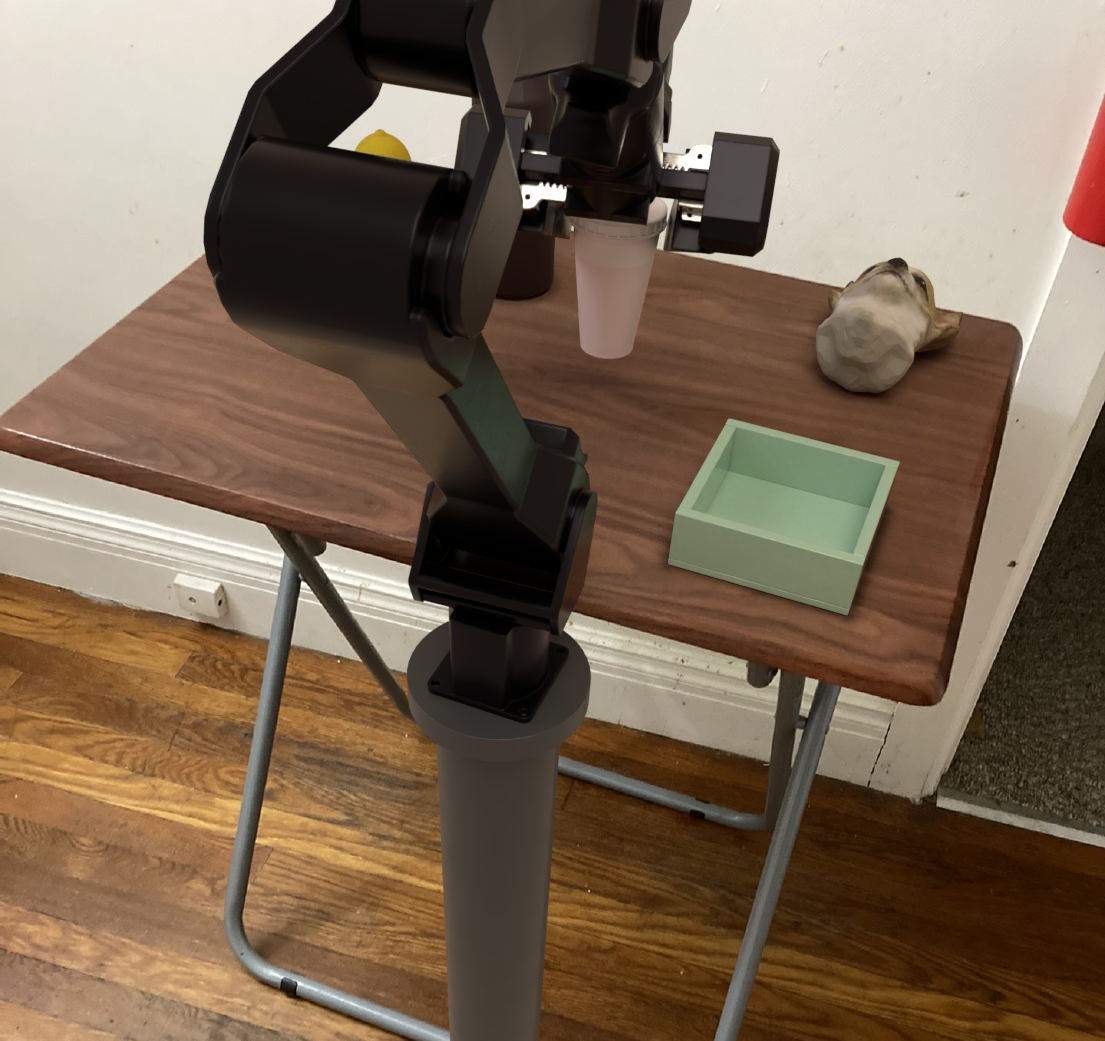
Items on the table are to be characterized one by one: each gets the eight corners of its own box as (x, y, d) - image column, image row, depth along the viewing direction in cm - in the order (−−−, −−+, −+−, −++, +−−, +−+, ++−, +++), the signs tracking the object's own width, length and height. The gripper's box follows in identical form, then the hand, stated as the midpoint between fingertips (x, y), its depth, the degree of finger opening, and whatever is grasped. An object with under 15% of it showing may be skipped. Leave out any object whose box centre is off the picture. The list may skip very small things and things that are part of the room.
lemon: (382, 205, 107) (377, 112, 101) (429, 223, 105) (426, 129, 99) (341, 225, 104) (333, 130, 98) (388, 244, 102) (382, 148, 96)
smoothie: (546, 355, 80) (556, 140, 70) (581, 315, 84) (595, 106, 74) (634, 377, 78) (657, 161, 68) (664, 335, 82) (691, 125, 72)
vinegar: (480, 257, 100) (479, -8, 86) (558, 266, 100) (571, 0, 85) (465, 295, 96) (462, 21, 81) (547, 304, 95) (558, 30, 81)
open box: (847, 616, 71) (863, 564, 68) (667, 564, 74) (675, 512, 71) (884, 511, 78) (900, 461, 75) (719, 468, 81) (728, 417, 78)
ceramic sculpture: (799, 270, 82) (862, 208, 92) (773, 383, 88) (835, 313, 98) (946, 312, 79) (995, 243, 89) (908, 426, 85) (958, 349, 95)
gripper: (810, -19, 60) (778, 130, 76) (459, -54, 62) (498, 99, 77) (776, 197, 61) (751, 301, 76) (428, 156, 62) (473, 267, 78)
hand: (618, 237), depth 77 cm, fingers closed on smoothie, 6 cm apart
